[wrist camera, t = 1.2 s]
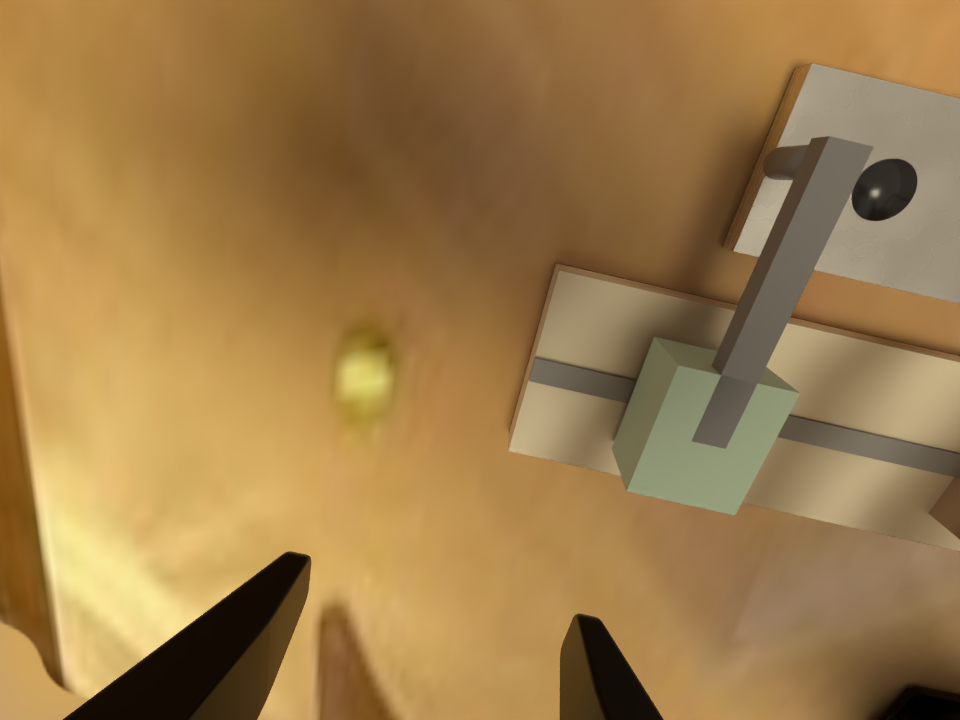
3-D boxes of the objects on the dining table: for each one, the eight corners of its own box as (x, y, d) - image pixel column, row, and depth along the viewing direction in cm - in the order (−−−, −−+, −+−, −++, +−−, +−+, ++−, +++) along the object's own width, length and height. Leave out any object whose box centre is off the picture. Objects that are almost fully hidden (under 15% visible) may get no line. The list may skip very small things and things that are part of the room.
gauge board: (1242, 262, 17) (1500, 295, 13) (1006, 544, 22) (1130, 638, 18) (598, 110, 17) (628, 88, 12) (509, 433, 22) (507, 500, 17)
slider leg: (845, 161, 15) (925, 159, 12) (702, 463, 20) (734, 515, 17) (726, 133, 15) (777, 124, 12) (609, 443, 20) (626, 491, 17)
